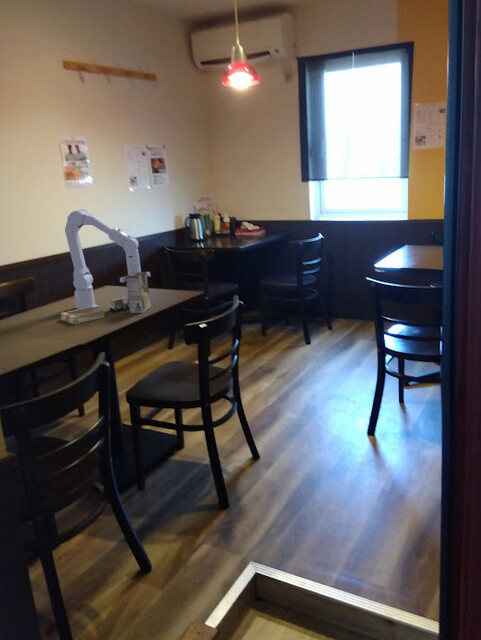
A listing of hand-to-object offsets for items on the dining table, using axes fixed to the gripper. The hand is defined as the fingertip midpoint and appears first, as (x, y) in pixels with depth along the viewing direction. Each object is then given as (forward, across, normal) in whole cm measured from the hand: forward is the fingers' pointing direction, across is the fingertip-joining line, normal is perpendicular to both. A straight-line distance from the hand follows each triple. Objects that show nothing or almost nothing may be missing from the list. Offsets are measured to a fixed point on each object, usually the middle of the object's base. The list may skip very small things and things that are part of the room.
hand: (137, 294), depth 252 cm
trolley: (+4, -10, 0) cm, 11 cm away
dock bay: (+4, -27, 0) cm, 27 cm away
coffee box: (+5, -5, -10) cm, 12 cm away
